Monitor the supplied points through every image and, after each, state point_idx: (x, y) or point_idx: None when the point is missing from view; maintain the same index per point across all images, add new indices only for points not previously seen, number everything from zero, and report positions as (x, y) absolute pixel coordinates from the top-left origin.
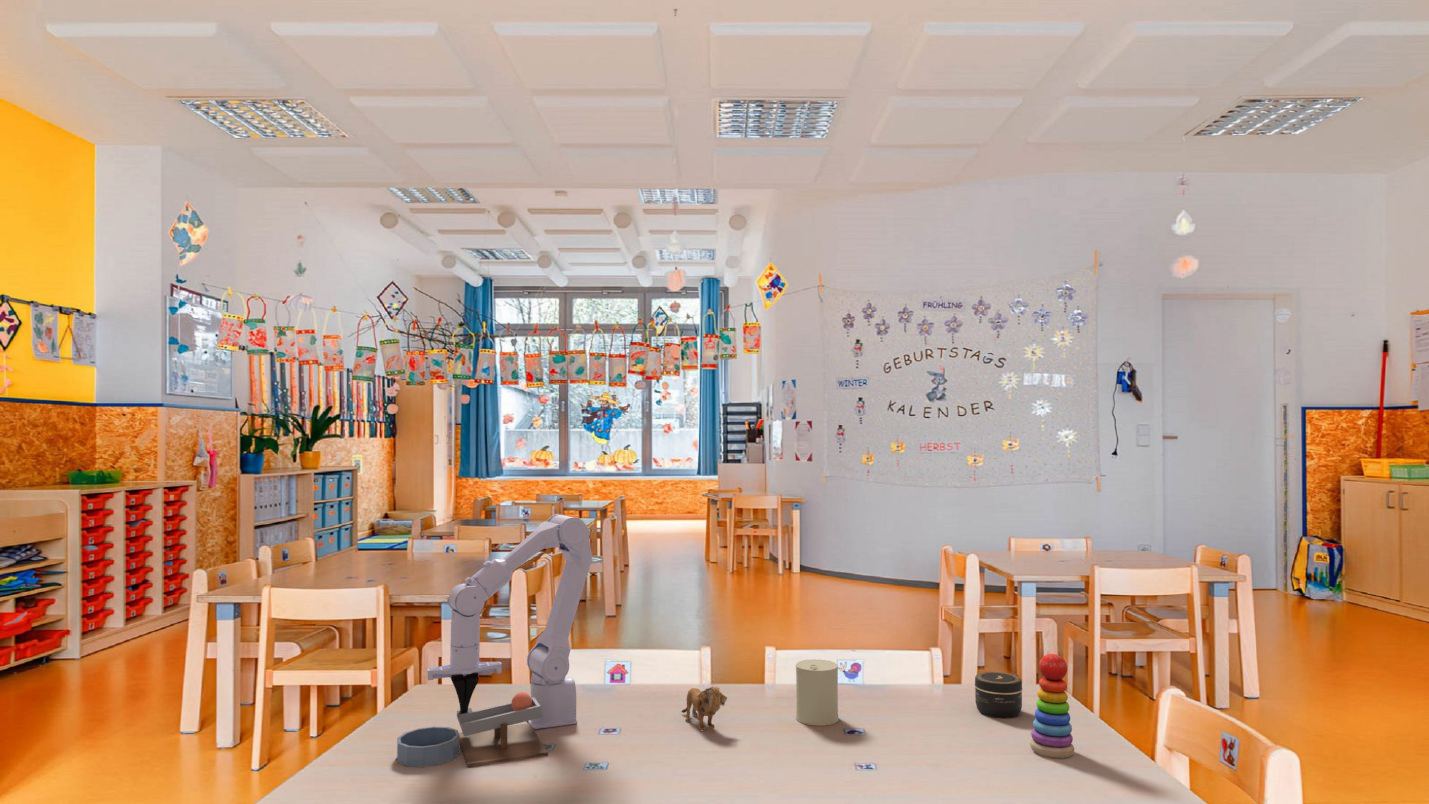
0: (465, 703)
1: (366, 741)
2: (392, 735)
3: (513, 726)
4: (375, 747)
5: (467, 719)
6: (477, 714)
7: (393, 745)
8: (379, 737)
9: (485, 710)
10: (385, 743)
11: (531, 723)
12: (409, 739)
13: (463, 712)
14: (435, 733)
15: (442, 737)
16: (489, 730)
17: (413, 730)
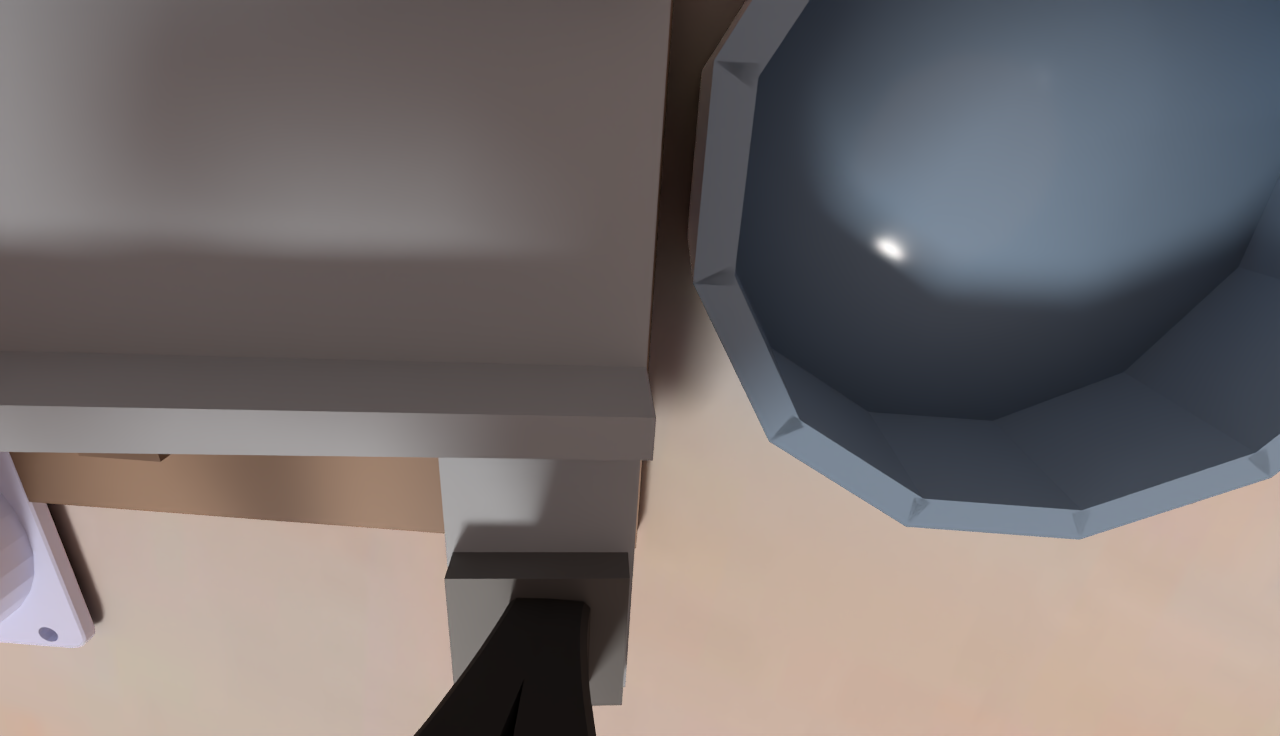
0: (510, 689)
1: (1251, 697)
2: (1048, 722)
3: (164, 489)
4: (1264, 569)
5: (542, 377)
6: (376, 386)
7: (1131, 551)
8: (1139, 725)
9: (223, 403)
10: (1161, 611)
11: (14, 489)
12: (1159, 423)
13: (561, 603)
14: (882, 450)
15: (812, 393)
16: (366, 486)
17: (1147, 506)
